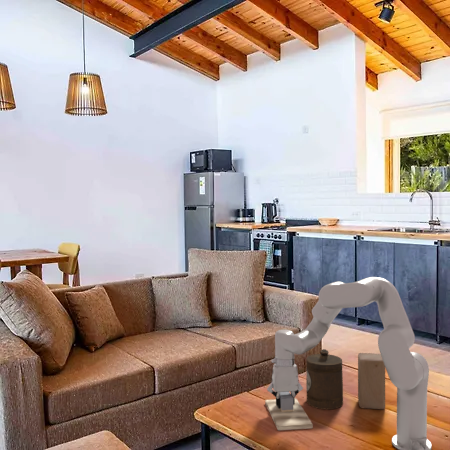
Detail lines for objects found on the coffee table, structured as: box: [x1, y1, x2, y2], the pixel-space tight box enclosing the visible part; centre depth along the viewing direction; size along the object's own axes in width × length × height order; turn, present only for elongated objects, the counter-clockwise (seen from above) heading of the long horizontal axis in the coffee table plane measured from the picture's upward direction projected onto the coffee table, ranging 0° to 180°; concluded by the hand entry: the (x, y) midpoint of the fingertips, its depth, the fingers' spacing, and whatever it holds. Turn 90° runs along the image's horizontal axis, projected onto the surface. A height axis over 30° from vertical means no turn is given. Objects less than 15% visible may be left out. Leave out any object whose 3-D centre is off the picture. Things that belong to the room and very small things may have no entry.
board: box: [264, 397, 314, 431], centre depth 194 cm, size 24×13×2 cm, turn 6°
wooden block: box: [357, 352, 386, 410], centre depth 202 cm, size 10×10×20 cm
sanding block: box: [280, 392, 293, 412], centre depth 198 cm, size 8×4×5 cm, turn 7°
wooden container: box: [305, 349, 344, 410], centre depth 205 cm, size 15×15×22 cm
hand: (285, 406), depth 198 cm, fingers closed on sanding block, 4 cm apart
